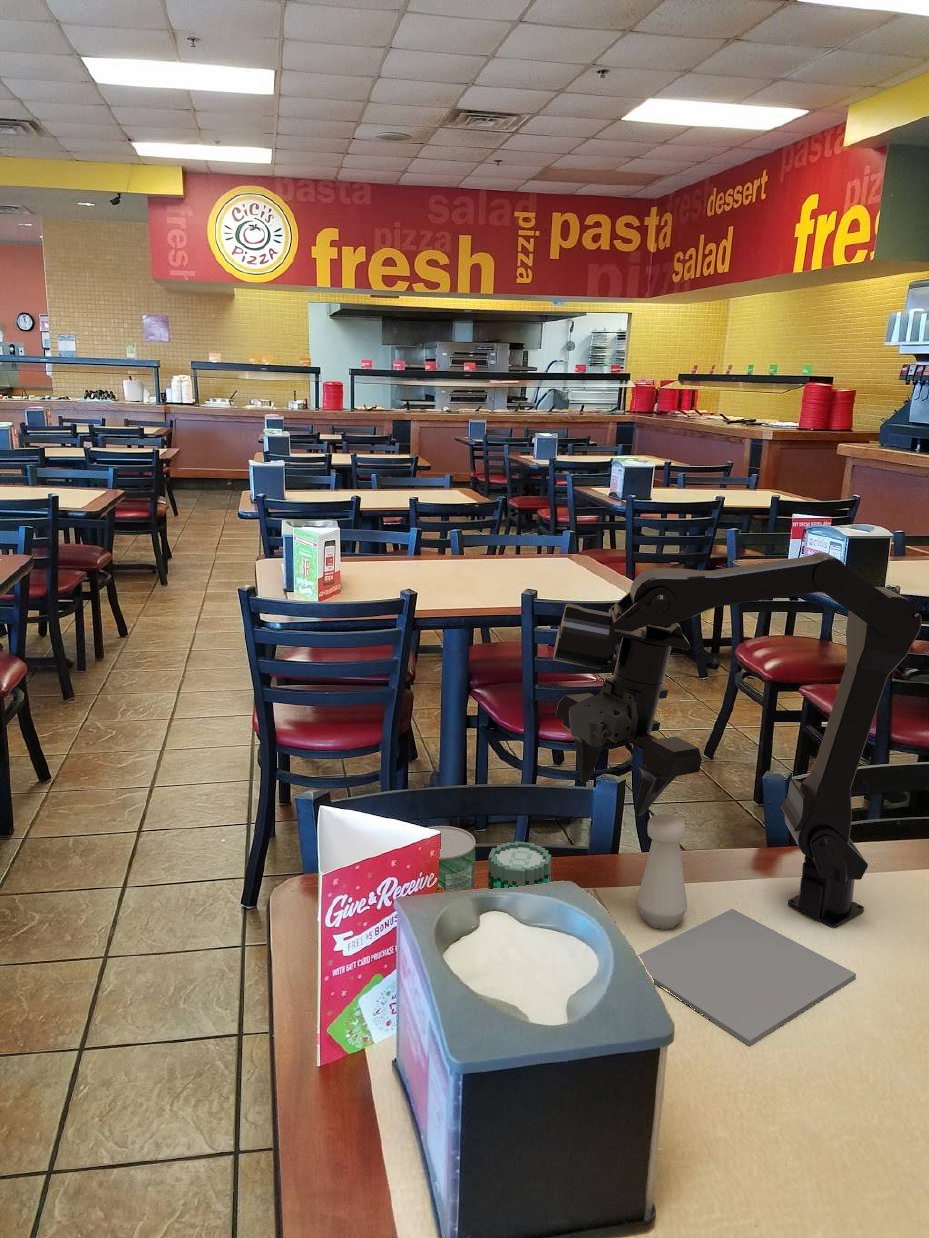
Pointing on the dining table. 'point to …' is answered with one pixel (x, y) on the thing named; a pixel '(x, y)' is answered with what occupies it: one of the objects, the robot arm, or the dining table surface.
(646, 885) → the salt shaker
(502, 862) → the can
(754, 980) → the mat
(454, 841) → the canned tomato
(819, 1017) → the dining table surface
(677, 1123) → the dining table surface
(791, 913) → the dining table surface
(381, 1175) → the dining table surface
